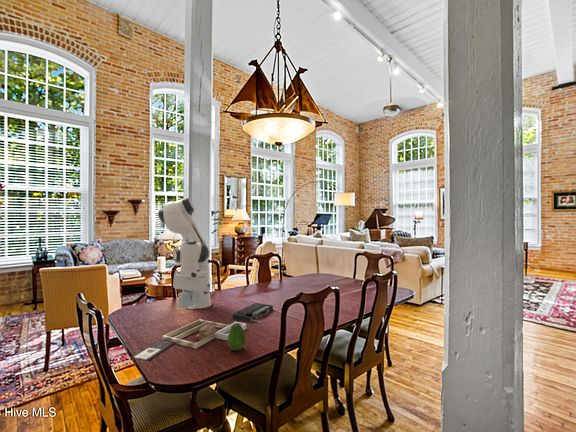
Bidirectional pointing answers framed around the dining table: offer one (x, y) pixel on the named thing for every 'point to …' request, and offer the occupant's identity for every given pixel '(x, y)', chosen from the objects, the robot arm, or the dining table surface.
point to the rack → (190, 344)
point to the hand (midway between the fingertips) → (189, 298)
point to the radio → (252, 312)
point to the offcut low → (203, 336)
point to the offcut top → (207, 330)
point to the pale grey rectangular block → (187, 299)
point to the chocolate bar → (153, 350)
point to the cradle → (221, 333)
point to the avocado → (236, 337)
